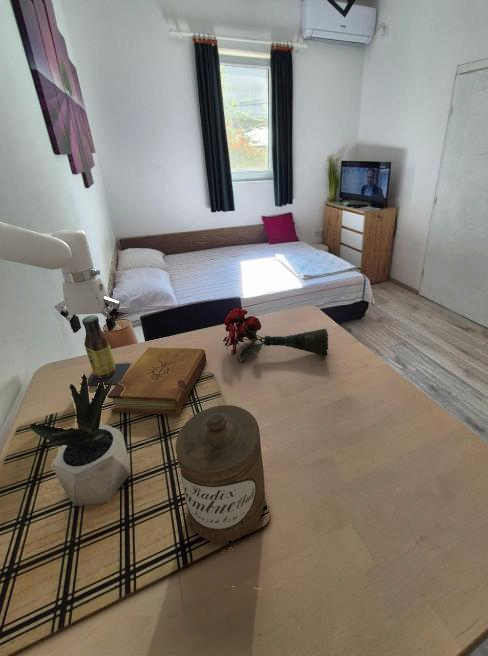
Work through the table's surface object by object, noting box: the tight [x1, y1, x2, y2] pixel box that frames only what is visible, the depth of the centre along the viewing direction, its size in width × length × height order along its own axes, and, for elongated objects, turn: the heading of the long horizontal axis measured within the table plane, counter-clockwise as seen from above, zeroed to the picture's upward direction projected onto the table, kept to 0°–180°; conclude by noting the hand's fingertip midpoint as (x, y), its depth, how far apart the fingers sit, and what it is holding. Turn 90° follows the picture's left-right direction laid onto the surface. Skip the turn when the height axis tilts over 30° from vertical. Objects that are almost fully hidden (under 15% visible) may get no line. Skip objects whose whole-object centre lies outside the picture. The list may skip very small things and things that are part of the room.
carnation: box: [222, 307, 329, 363], centre depth 111 cm, size 16×18×35 cm
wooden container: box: [175, 404, 266, 544], centre depth 60 cm, size 15×15×22 cm
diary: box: [107, 346, 207, 416], centre depth 95 cm, size 23×19×6 cm
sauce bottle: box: [81, 314, 116, 378], centre depth 98 cm, size 7×6×20 cm
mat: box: [87, 362, 131, 387], centre depth 101 cm, size 10×10×1 cm
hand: (94, 329), depth 95 cm, fingers open, 9 cm apart
